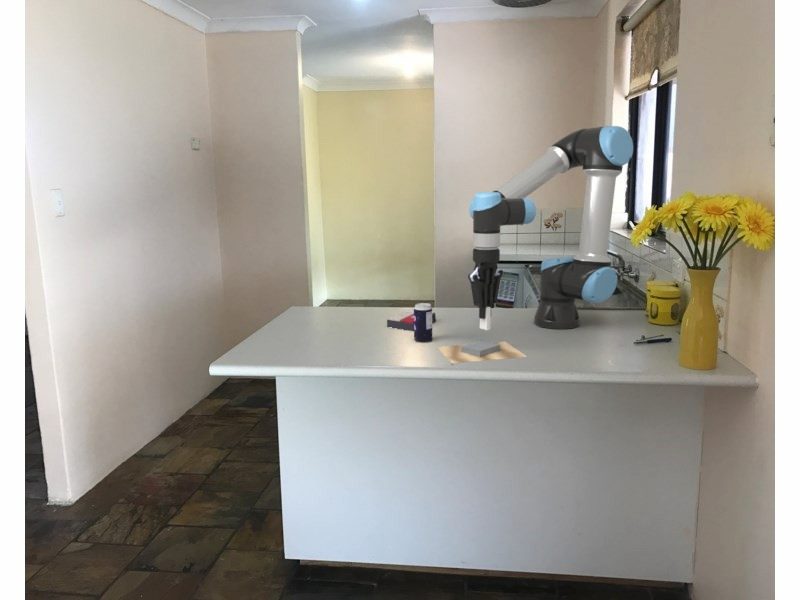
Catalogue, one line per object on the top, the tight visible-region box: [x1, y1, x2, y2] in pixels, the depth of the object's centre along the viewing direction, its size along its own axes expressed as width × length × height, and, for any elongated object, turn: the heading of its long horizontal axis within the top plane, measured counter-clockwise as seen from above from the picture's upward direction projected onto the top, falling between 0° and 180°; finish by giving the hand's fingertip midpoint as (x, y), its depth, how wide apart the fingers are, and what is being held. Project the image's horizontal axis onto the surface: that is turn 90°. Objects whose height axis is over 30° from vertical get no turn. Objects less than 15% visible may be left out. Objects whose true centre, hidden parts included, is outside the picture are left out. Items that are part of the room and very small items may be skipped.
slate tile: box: [461, 339, 500, 357], centre depth 170 cm, size 2×7×9 cm
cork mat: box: [436, 341, 528, 366], centre depth 170 cm, size 22×16×1 cm
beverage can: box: [413, 302, 433, 344], centre depth 182 cm, size 6×6×12 cm
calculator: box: [386, 308, 437, 332], centre depth 205 cm, size 11×4×15 cm
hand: (484, 328), depth 170 cm, fingers closed
